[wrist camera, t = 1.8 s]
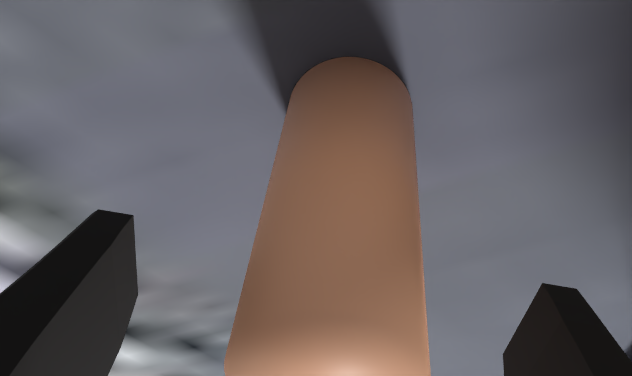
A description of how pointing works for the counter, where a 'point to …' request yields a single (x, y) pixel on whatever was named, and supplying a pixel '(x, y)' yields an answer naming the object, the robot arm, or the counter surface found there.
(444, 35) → the counter surface
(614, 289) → the counter surface
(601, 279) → the counter surface
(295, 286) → the peg
